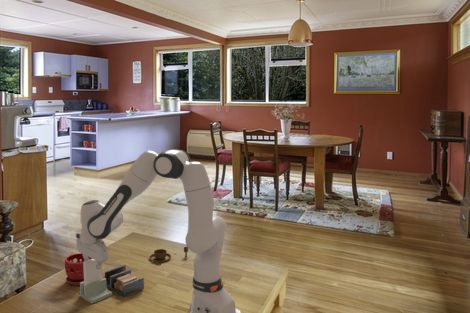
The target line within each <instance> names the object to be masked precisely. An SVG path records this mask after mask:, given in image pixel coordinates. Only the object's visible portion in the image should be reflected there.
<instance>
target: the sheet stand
mask: <svg viewBox="0 0 470 313" xmlns="http://www.w3.org/2000/svg"><path fill="white" fill-rule="evenodd" d="M112 295H113V291H112V290H110V289H108V288H107V287H106V278H105V277H104V278H103V279H102V280H99V281H96V282H94V283H91V284H88V285H86V286H85V294H84V282H81V283H80V285H79V297H80V298H82V299H83V300H85V301H87V302H89V303H90V304H94V303H96V302H99V301H102V300H104V299H107V298H109V297H111V296H112Z"/></svg>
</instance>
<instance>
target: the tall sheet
mask: <svg viewBox="0 0 470 313" xmlns="http://www.w3.org/2000/svg"><path fill="white" fill-rule="evenodd" d="M96 265H97V260H95V259H91V260H88V261H85V262H83V268H84V294H85V286H86V285H88V284H91V283H94V282H96V281H99V280H102V279H104V278H103V264H102V265H101V269H99V270H98V269H96Z"/></svg>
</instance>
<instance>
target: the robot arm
mask: <svg viewBox="0 0 470 313" xmlns="http://www.w3.org/2000/svg"><path fill="white" fill-rule="evenodd" d="M158 176H159V177H161V178H165V179H175V180H177V179H180V181H181V182H182V187H183V191H184V194H185V199H186V205H187V213H188V215H187V216H188V217H187V218H188V222H187V223H188V225H187V233H186V236H185V238H184V239H185V245H186V247H188V251H189V250H190V252H193V253H194V254H195V256H194V259H193V276H192V288H193V289H192V297H191V302H190V306H189V313H242V312H241V310H240V309H238V308H236V302H235V300H234V299H235V298H233V297H232V295H231V293H229V292H228V290H227V289H226V288H225V287H224V285H225V281H222V280H223V279H222V277H221V259H222V252H223V247H224V240H225V237H226V233H227V230H228V224H227V222H226V220H225V219H224V218H223V217H222V216H219V215H214V207H215V201H214V200H215V198H214V196H213V190H212V186H211V181H210V178H209V175H208V172H207V170H206V168H205V165H204V164H203V163H202V162H199V161H191V157H190V155H189V153H188V152H186V151H185V150H183V149H178V148H177V149H168V150H165V151H162V152H160V153H157V152H156V151H153V150H145V151H143V152H142V153H141V154H140V155H138V157H137V158H136V160H134V162H133V163H132V165H131V166H130V168H129V169H128V170H127V172H126V174H125V175H124V177H123V178H122V180H121V182H120V184H119V185H118V187H117V188H116V190H115V192H114V193H113V194H112V195H111V197H110V198H109V200H108V201H107V202H106V203H105V204H104V203H103V202H102V201H100V200H97V199H93V200H89V201H86V202H84V203H83V204H82V205H81V207H80V224H81V228H80V231H79V232H76V233H75V238H76V249H77V252H78V253H82V254H83V257H84V262H85V261H88V260H90V259H89V258H88V257H90V258H92V259H95V260H97V265H96V269H98V270H99V269H101V265H102V266H103V263H104V262H105V263H106V262H107V261H108V260H109V252H108V251H109V250H108V246H107V244H106V243H105V241H104V240H103V239H105V238H107V236H109V235H110V234H112V232H114V231H116V230H117V229H119V227H120V226H121V225H123V222H124V216H123V214H122V212H121V211H122V209H123V208H124V206H126V205H127V204H128V203H129V202H131V200H134V199H135V198H137V197H138V196H140V195H142V194H143V192H145V191H146V190H147V189H148V188H149V187H150V185H151V184H152V183H153V181H154V180H155V179H156V177H158Z"/></svg>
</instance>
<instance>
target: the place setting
mask: <svg viewBox="0 0 470 313" xmlns="http://www.w3.org/2000/svg"><path fill="white" fill-rule="evenodd" d="M183 252H184V253H185V254H184V257H185V258H187V255H188V252H189V248H188V247H187V246H184V247H183ZM174 255H176V253H174ZM153 257H154V258H155V259H156V260H155V259H152V258H153ZM166 257H168V259H165V258H166ZM171 259H172V255H171V254H170V253H167V250H166V249H163V248H158V249H155V250H154V251H153V254H151V255H149V260H150V261H151V263H150V264H151V265H156V266H161V263H166V262H168V261H170V260H171Z"/></svg>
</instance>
